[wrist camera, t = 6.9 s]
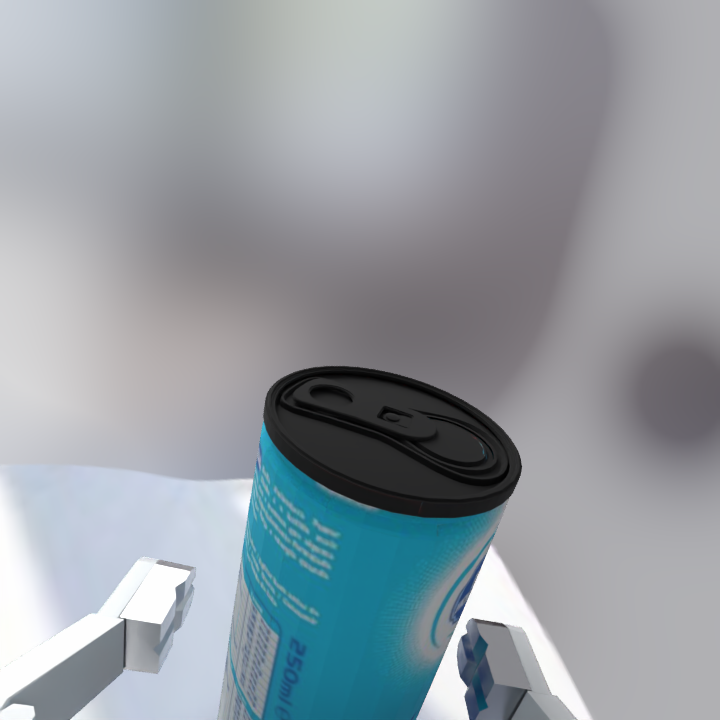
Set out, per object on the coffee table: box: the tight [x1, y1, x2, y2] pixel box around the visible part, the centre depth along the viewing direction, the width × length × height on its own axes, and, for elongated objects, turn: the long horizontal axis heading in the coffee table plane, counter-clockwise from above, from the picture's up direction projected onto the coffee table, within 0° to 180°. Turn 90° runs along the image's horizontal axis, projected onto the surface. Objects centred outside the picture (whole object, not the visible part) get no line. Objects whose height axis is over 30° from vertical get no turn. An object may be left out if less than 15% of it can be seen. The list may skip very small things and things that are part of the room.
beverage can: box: [218, 366, 522, 720], centre depth 10 cm, size 6×6×15 cm
